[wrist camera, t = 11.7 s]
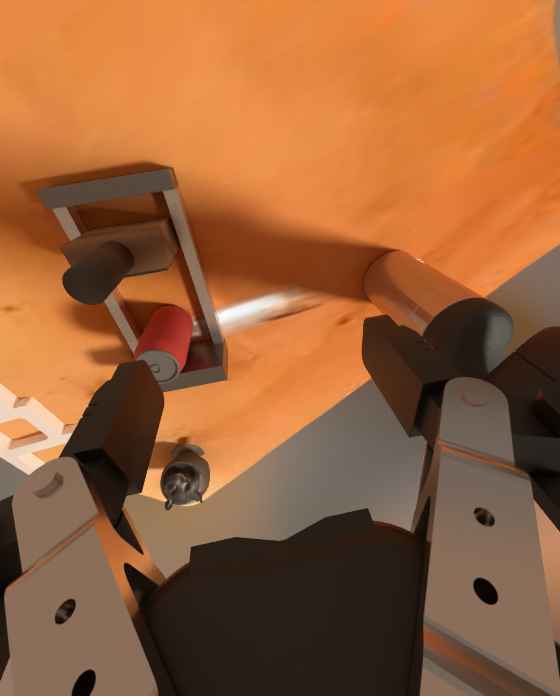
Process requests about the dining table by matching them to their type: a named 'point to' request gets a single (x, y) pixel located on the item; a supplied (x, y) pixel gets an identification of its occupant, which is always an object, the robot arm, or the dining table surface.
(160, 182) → the frame
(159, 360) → the beer can
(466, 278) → the dining table surface
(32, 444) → the holder
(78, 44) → the dining table surface
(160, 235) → the sliding jaw
